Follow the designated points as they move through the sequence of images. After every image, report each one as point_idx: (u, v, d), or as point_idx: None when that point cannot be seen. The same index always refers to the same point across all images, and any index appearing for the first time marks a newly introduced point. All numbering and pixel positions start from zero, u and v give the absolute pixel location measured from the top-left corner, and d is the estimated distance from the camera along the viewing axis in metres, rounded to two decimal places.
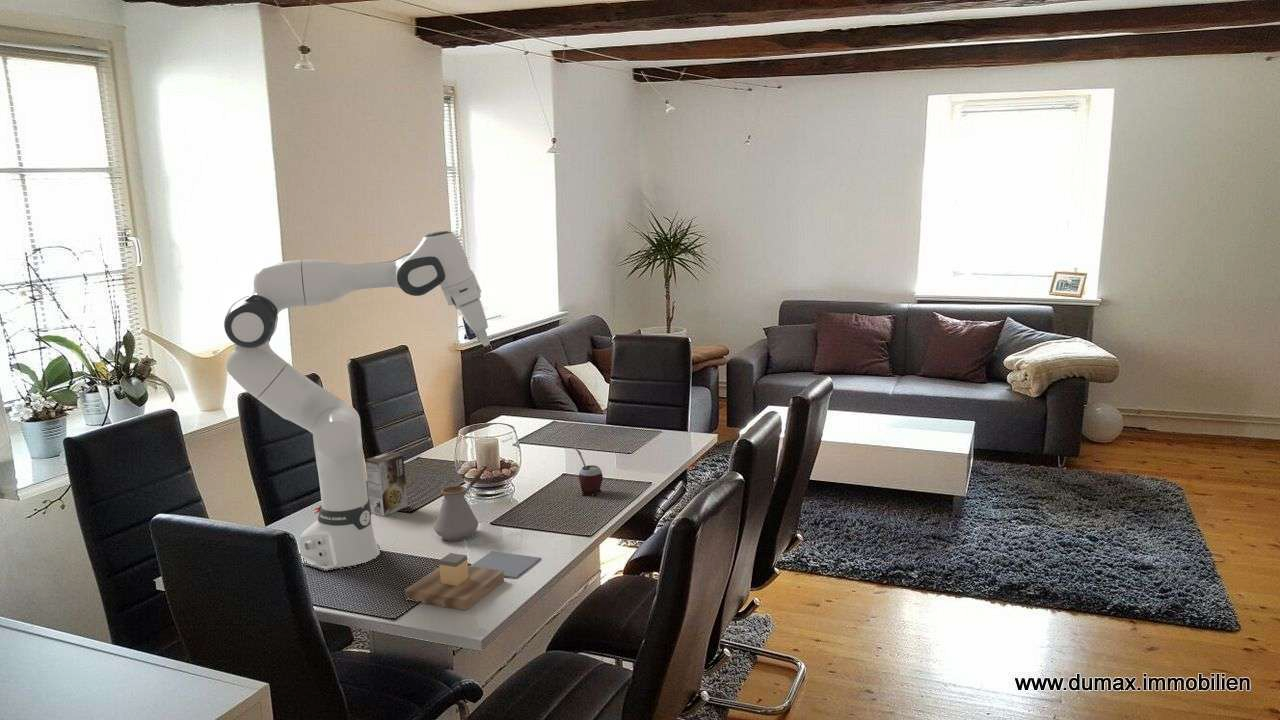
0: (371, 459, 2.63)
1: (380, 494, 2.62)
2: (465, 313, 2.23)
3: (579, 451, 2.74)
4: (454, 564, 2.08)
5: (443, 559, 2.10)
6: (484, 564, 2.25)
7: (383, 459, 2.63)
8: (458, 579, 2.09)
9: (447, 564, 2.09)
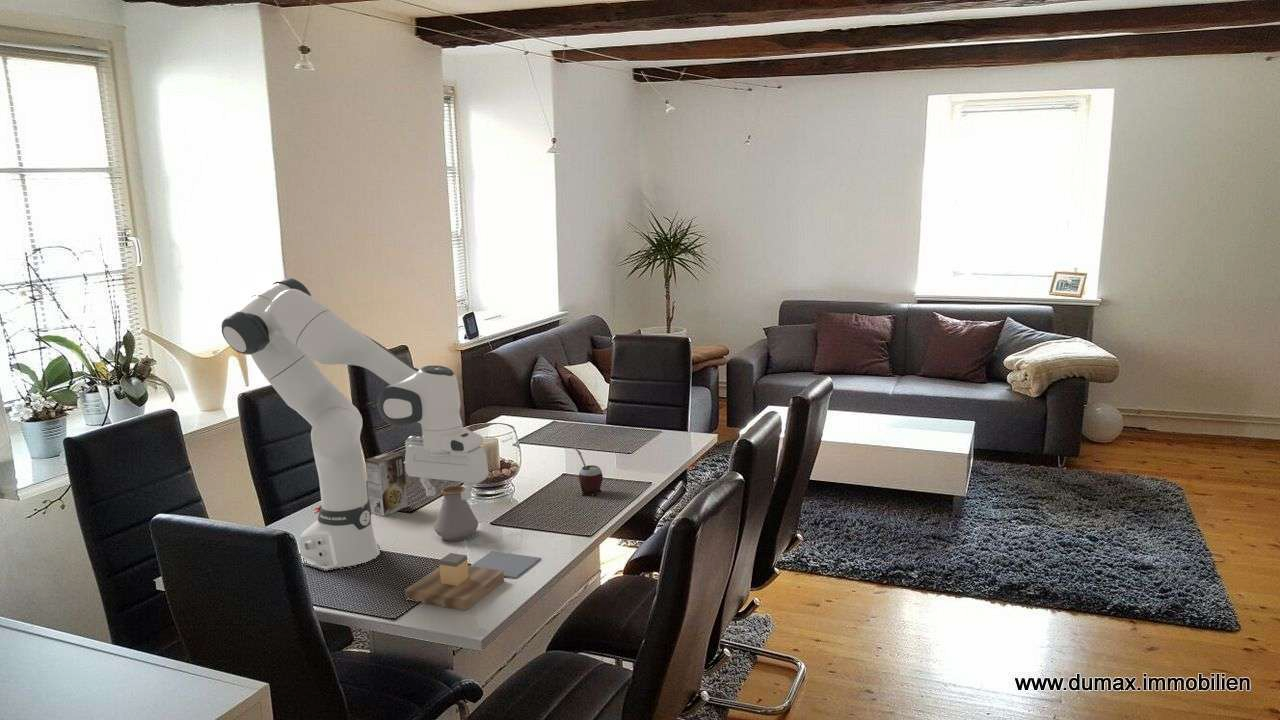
0: (371, 459, 2.63)
1: (380, 494, 2.62)
2: (475, 460, 2.01)
3: (579, 451, 2.74)
4: (454, 564, 2.08)
5: (443, 559, 2.10)
6: (484, 564, 2.25)
7: (383, 459, 2.63)
8: (458, 579, 2.09)
9: (447, 564, 2.09)
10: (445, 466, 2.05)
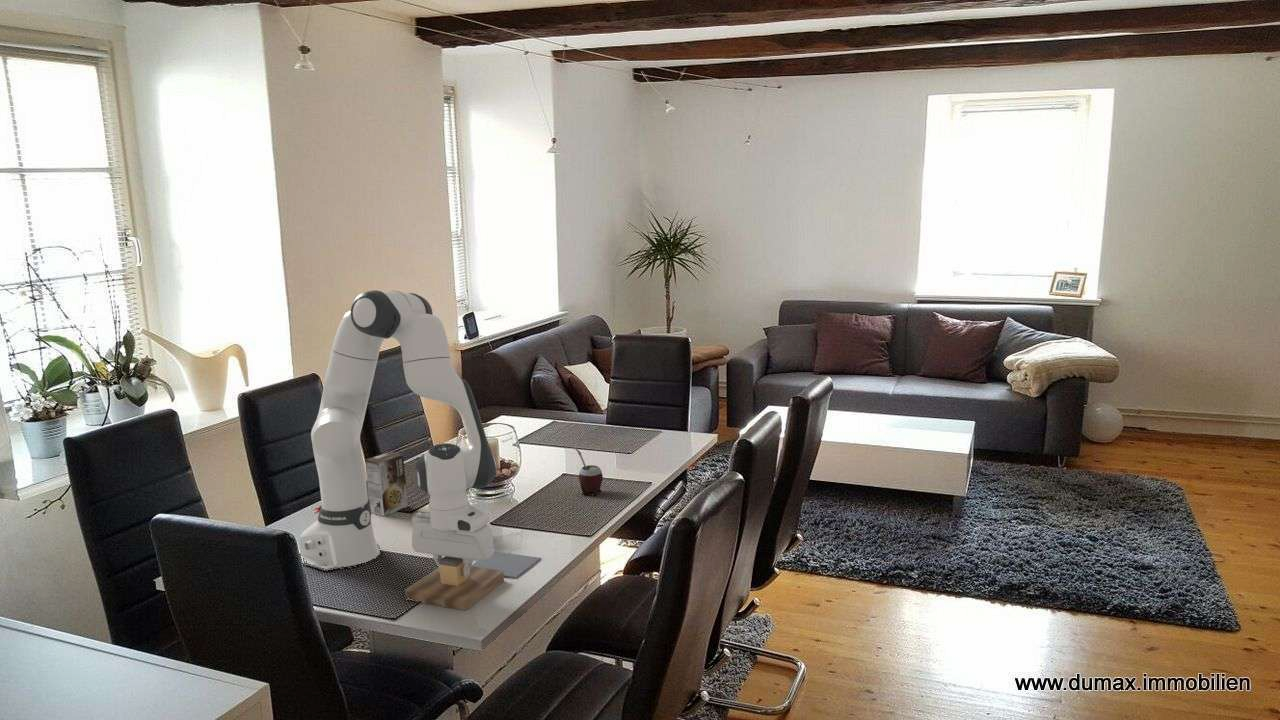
0: (371, 459, 2.63)
1: (380, 494, 2.62)
2: (481, 539, 2.04)
3: (579, 451, 2.74)
4: (453, 564, 2.08)
5: (443, 559, 2.10)
6: (484, 564, 2.25)
7: (383, 459, 2.63)
8: (458, 579, 2.09)
9: (447, 564, 2.09)
10: (451, 543, 2.08)
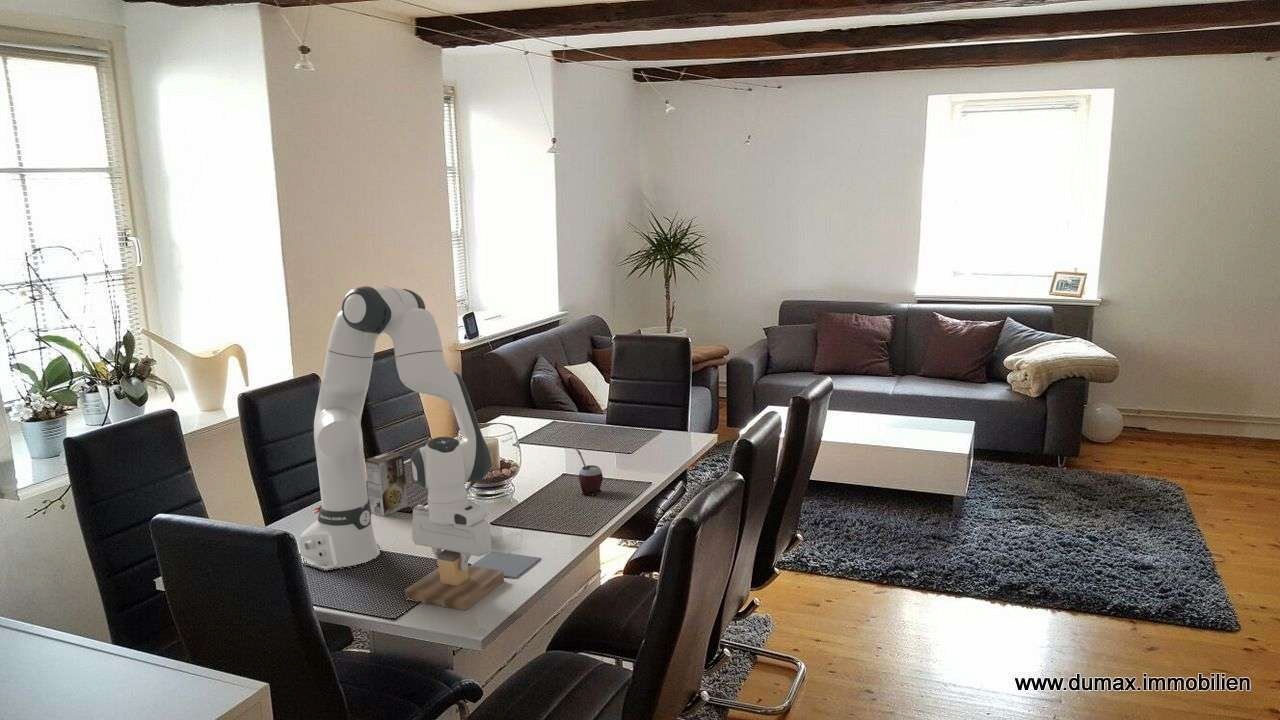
0: (371, 459, 2.63)
1: (380, 494, 2.62)
2: (478, 534, 2.03)
3: (579, 451, 2.74)
4: (451, 559, 2.08)
5: (441, 554, 2.10)
6: (484, 564, 2.25)
7: (383, 459, 2.63)
8: (456, 574, 2.09)
9: (445, 559, 2.09)
10: (449, 537, 2.08)
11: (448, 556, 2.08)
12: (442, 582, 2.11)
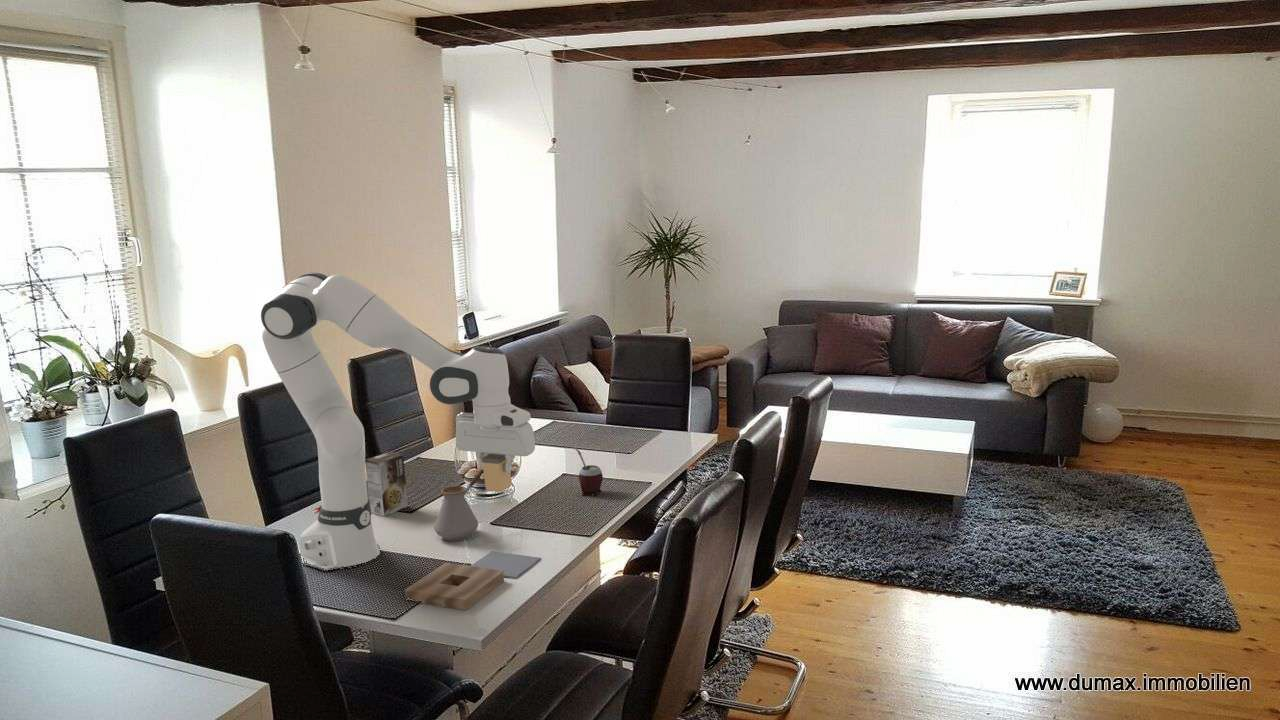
0: (371, 459, 2.63)
1: (380, 494, 2.62)
2: (524, 434, 2.14)
3: (579, 451, 2.74)
4: (496, 461, 2.18)
5: (486, 457, 2.20)
6: (484, 564, 2.25)
7: (383, 459, 2.63)
8: (501, 476, 2.19)
9: (490, 462, 2.19)
10: (494, 440, 2.17)
11: (493, 459, 2.18)
12: (487, 485, 2.21)
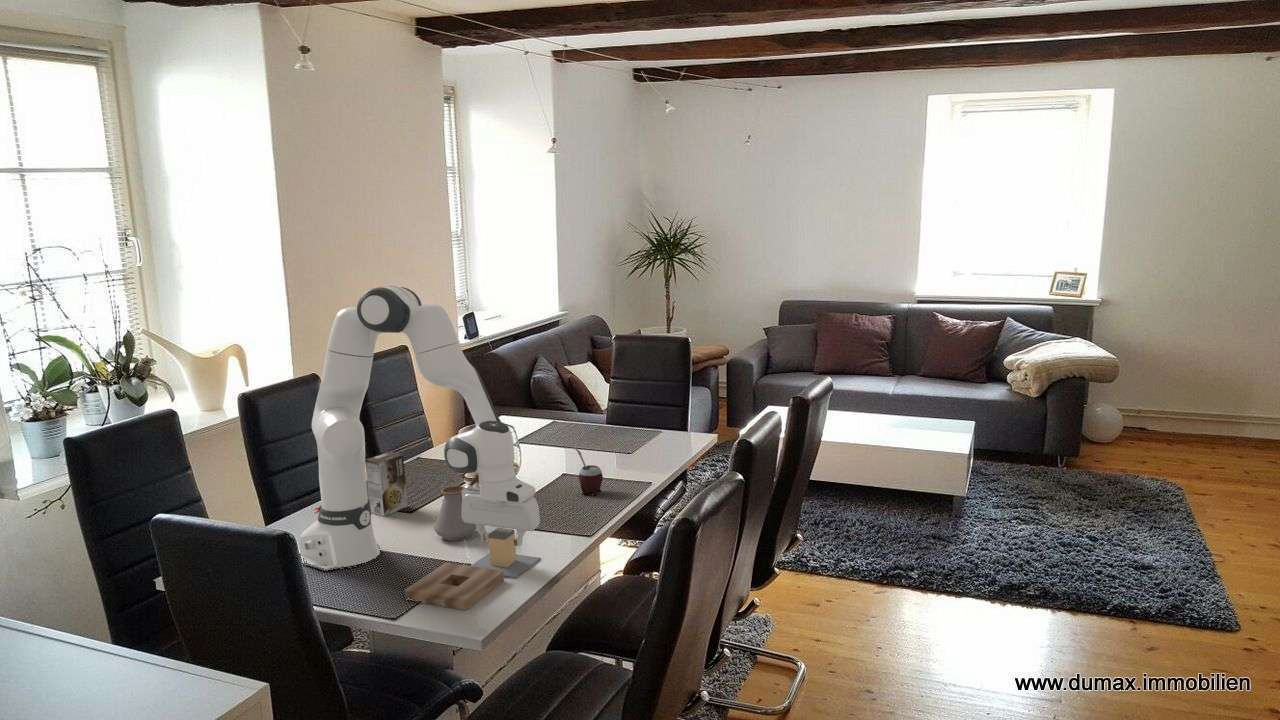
0: (371, 459, 2.63)
1: (380, 494, 2.62)
2: (529, 510, 2.17)
3: (579, 451, 2.74)
4: (502, 537, 2.22)
5: (492, 533, 2.24)
6: (484, 564, 2.25)
7: (383, 459, 2.63)
8: (506, 551, 2.23)
9: (496, 537, 2.23)
10: (499, 514, 2.21)
11: (499, 535, 2.23)
12: (492, 560, 2.24)
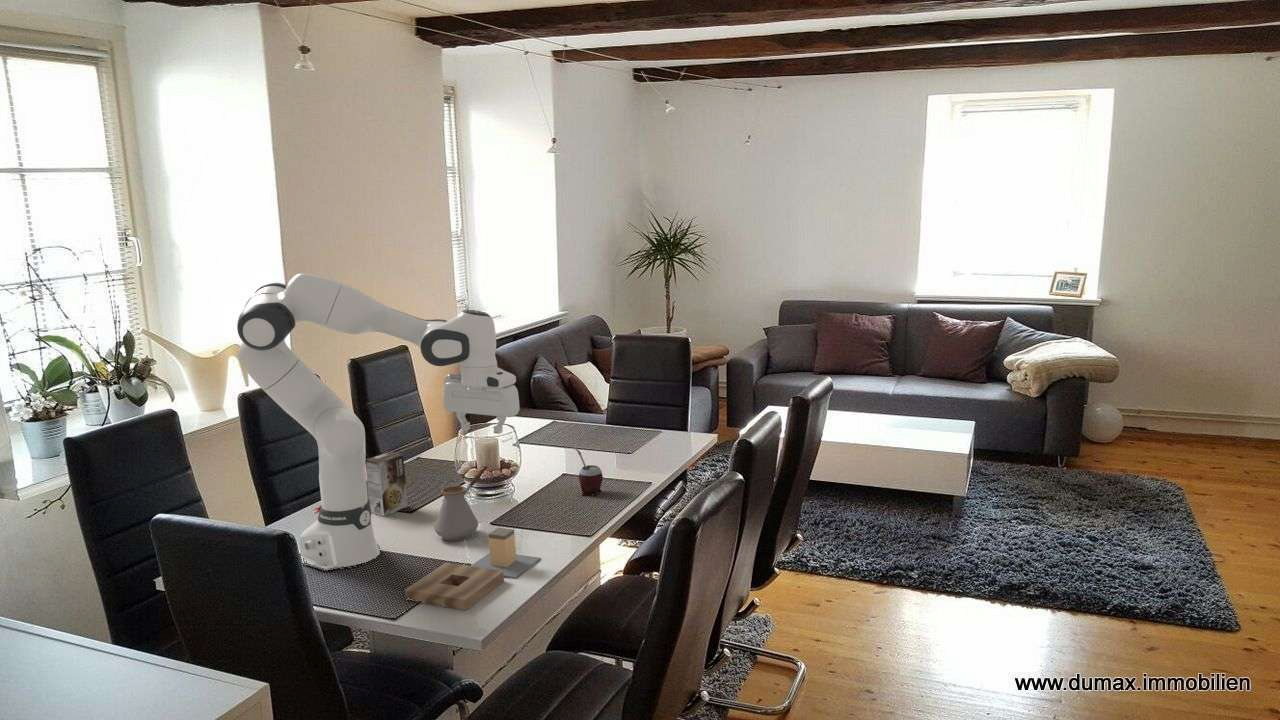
0: (371, 459, 2.63)
1: (380, 494, 2.62)
2: (508, 395, 2.21)
3: (579, 451, 2.74)
4: (502, 537, 2.22)
5: (492, 533, 2.24)
6: (484, 564, 2.25)
7: (383, 459, 2.63)
8: (506, 551, 2.23)
9: (496, 537, 2.23)
10: (480, 401, 2.25)
11: (499, 535, 2.23)
12: (492, 560, 2.24)
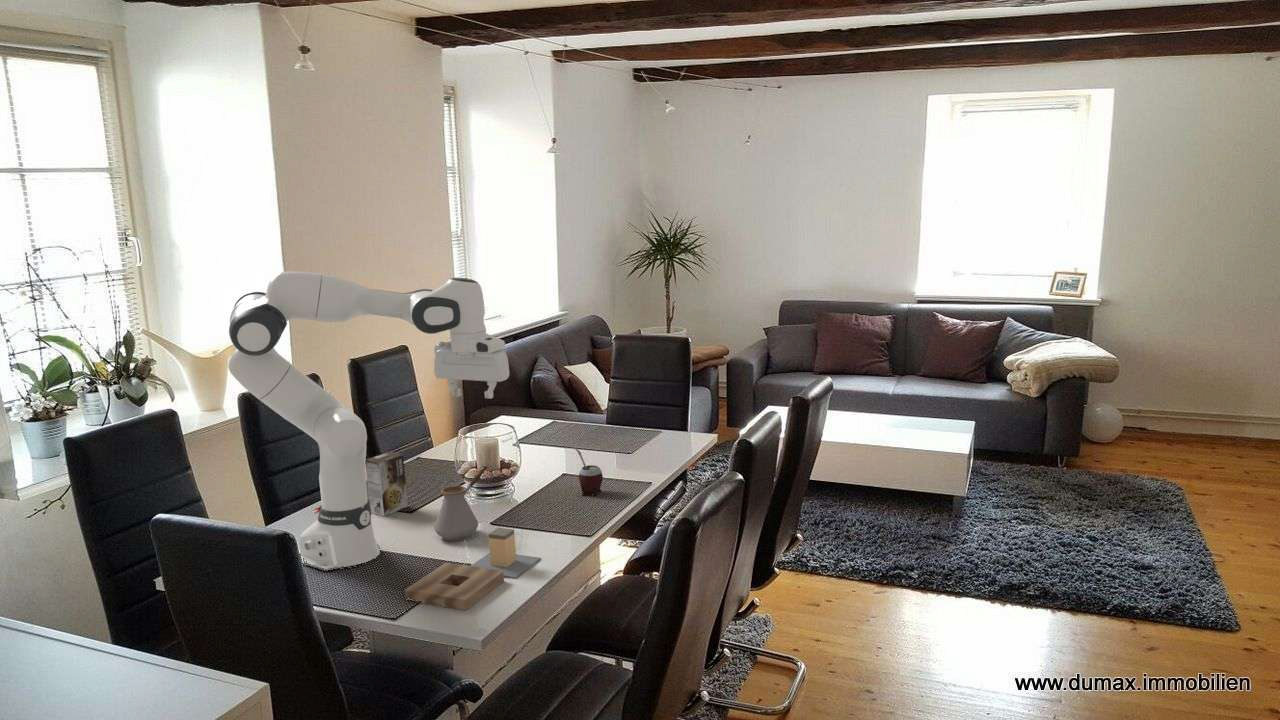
0: (371, 459, 2.63)
1: (380, 494, 2.62)
2: (498, 360, 2.25)
3: (579, 451, 2.74)
4: (502, 537, 2.22)
5: (492, 533, 2.24)
6: (484, 564, 2.25)
7: (383, 459, 2.63)
8: (506, 551, 2.23)
9: (496, 537, 2.23)
10: (470, 367, 2.28)
11: (499, 535, 2.23)
12: (492, 560, 2.24)
